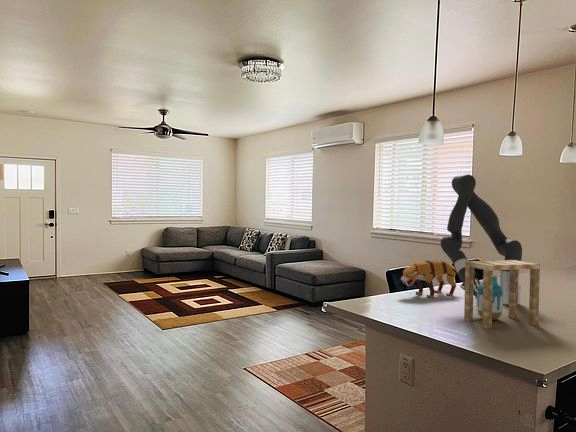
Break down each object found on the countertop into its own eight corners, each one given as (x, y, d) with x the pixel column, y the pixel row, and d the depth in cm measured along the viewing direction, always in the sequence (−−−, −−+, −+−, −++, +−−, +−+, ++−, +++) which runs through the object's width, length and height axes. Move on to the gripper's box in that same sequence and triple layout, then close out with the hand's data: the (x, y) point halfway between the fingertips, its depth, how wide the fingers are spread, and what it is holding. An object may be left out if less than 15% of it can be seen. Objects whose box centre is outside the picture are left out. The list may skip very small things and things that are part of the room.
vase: (504, 323, 187) (506, 278, 186) (478, 321, 190) (479, 277, 189) (500, 317, 197) (501, 275, 196) (474, 315, 200) (475, 273, 199)
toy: (394, 295, 243) (395, 259, 242) (450, 291, 258) (450, 257, 258) (408, 300, 232) (409, 262, 231) (465, 295, 247) (466, 259, 246)
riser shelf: (513, 316, 198) (514, 259, 197) (538, 325, 184) (539, 264, 184) (464, 320, 191) (465, 261, 190) (486, 329, 178) (487, 265, 177)
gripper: (456, 265, 206) (472, 297, 194) (480, 265, 209) (498, 296, 198) (449, 275, 211) (464, 306, 200) (472, 274, 215) (489, 304, 203)
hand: (481, 301), depth 199 cm, fingers closed
